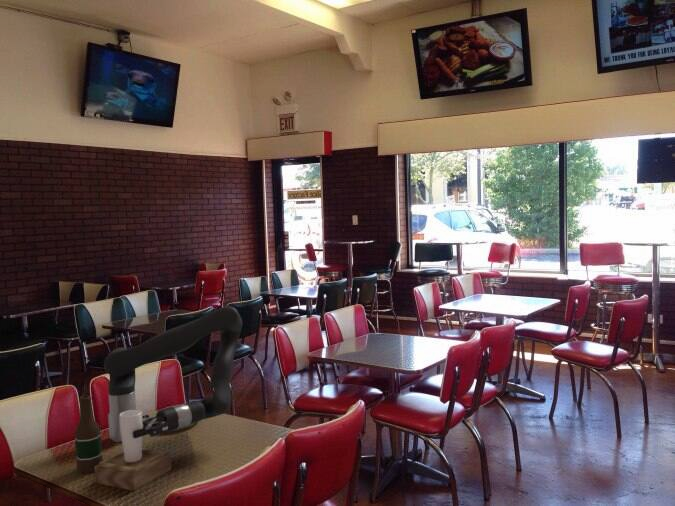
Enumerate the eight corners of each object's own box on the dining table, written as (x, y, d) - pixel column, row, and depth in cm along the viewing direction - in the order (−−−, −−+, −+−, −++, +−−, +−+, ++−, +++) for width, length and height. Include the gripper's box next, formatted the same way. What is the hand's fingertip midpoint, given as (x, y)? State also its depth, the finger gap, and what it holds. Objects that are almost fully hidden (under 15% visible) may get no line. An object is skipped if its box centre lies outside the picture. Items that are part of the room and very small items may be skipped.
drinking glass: (137, 465, 183) (134, 417, 182) (117, 464, 184) (114, 416, 183) (148, 456, 189) (145, 409, 188) (129, 455, 191) (126, 409, 190)
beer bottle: (71, 472, 192) (66, 399, 190) (90, 462, 199) (85, 392, 197) (90, 475, 189) (85, 401, 187) (108, 465, 196) (103, 393, 194)
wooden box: (95, 482, 183) (94, 463, 183) (133, 462, 197) (132, 444, 197) (134, 490, 176) (133, 471, 176) (171, 469, 191) (170, 450, 190)
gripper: (162, 402, 201) (116, 415, 190) (184, 411, 191) (136, 425, 180) (164, 424, 202) (117, 438, 190) (186, 433, 191) (138, 449, 180)
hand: (127, 431), depth 185 cm, fingers open, 8 cm apart
